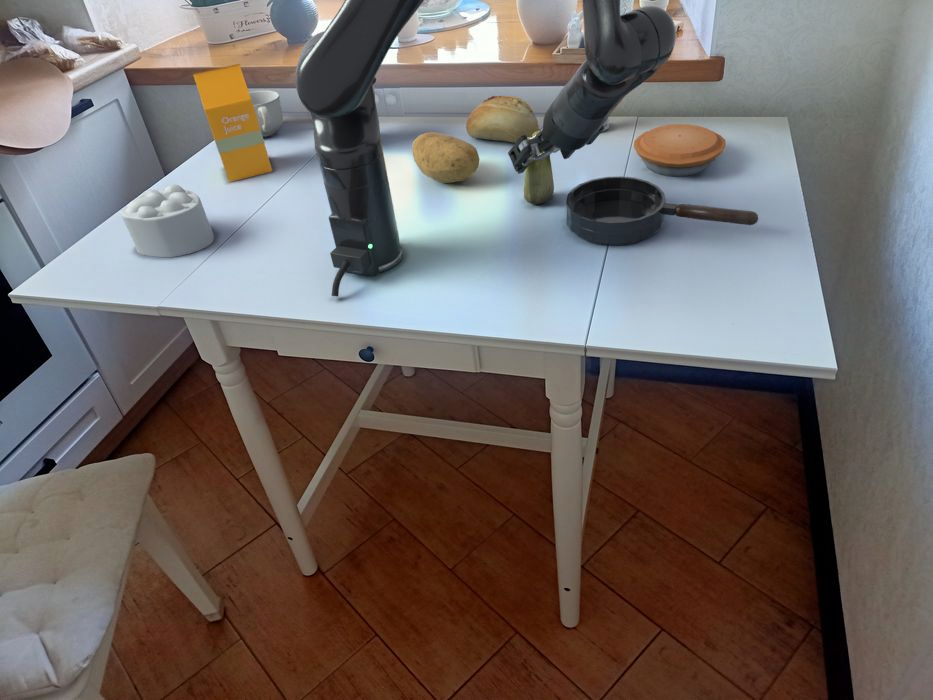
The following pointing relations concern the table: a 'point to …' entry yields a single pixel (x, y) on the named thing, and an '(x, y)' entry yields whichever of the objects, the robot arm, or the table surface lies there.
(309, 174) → the table surface
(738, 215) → the pan handle
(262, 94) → the teacup
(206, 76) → the orange juice
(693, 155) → the pie
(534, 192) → the fennel bulb
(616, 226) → the pan
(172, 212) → the lumpy-topped squat cylinder
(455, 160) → the potato
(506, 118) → the bread roll
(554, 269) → the table surface
